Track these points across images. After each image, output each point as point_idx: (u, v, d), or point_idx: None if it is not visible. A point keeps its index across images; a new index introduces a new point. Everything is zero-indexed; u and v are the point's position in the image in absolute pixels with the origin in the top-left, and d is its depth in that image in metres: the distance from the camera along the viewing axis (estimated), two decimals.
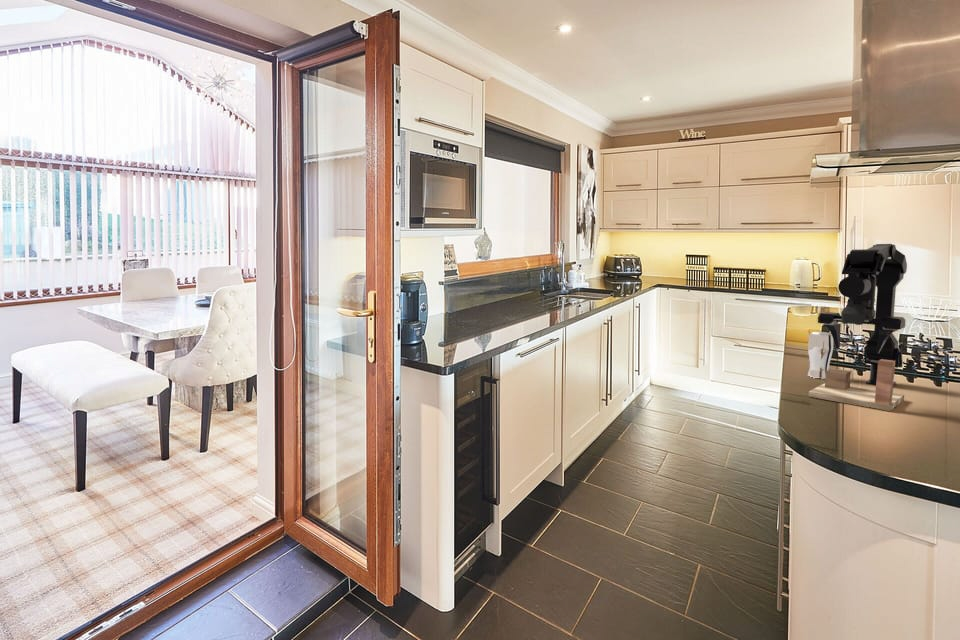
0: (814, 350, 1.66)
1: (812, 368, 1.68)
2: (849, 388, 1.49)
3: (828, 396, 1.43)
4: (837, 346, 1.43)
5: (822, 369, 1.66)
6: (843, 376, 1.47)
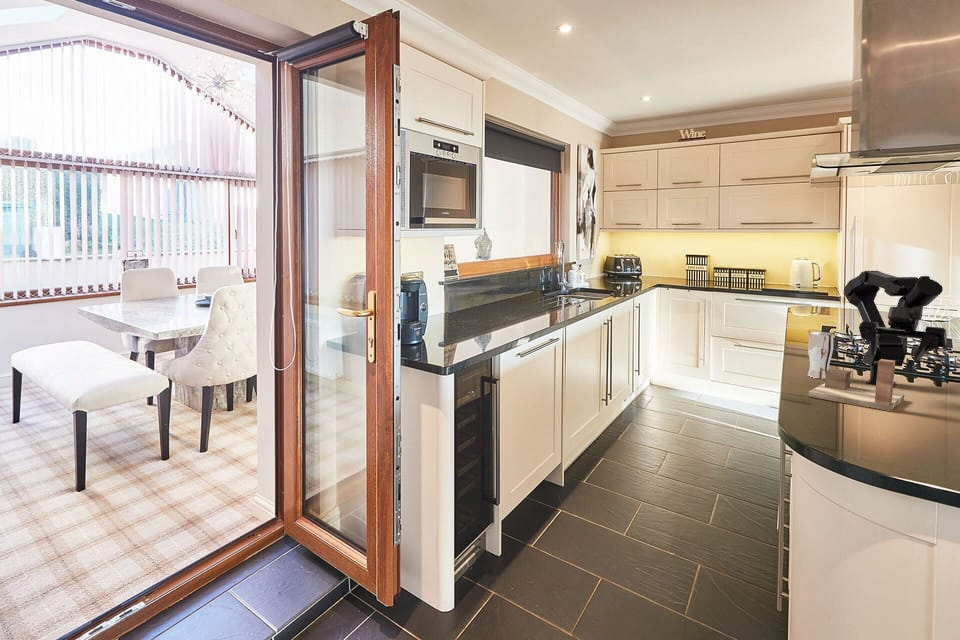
0: (814, 350, 1.66)
1: (812, 368, 1.68)
2: (849, 388, 1.49)
3: (828, 396, 1.43)
4: (873, 351, 1.42)
5: (822, 369, 1.66)
6: (843, 376, 1.47)
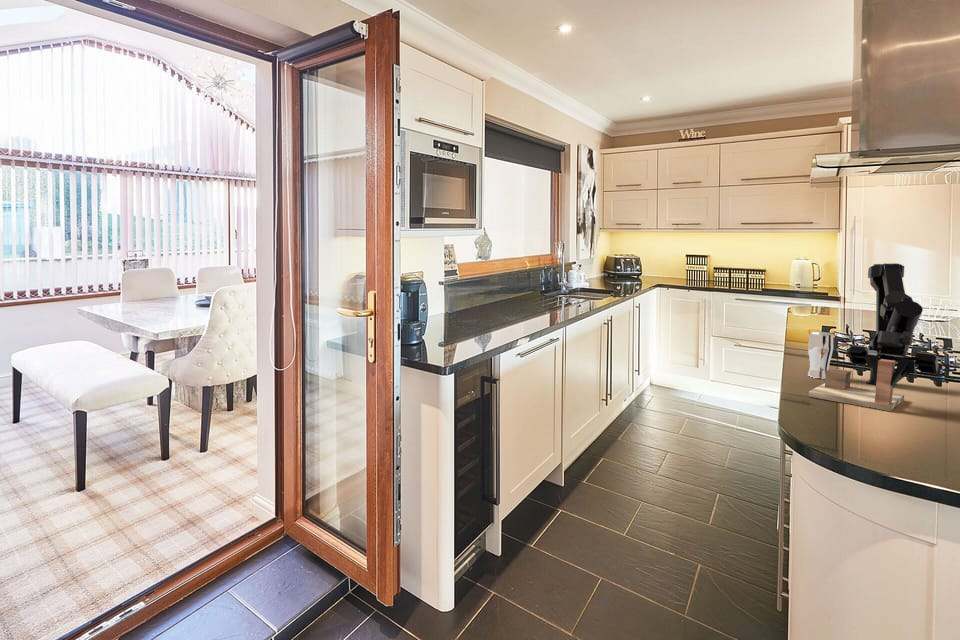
0: (814, 350, 1.66)
1: (812, 368, 1.68)
2: (849, 388, 1.49)
3: (828, 396, 1.43)
4: (876, 379, 1.35)
5: (822, 369, 1.66)
6: (843, 376, 1.47)
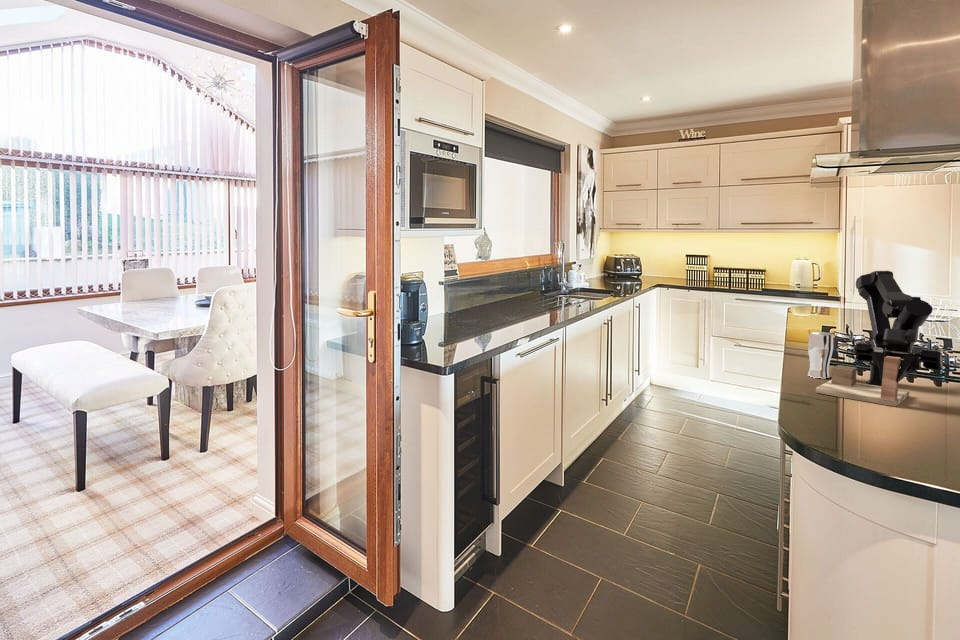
0: (814, 350, 1.66)
1: (812, 368, 1.68)
2: (855, 384, 1.52)
3: (835, 392, 1.47)
4: (881, 375, 1.38)
5: (822, 369, 1.66)
6: (849, 373, 1.51)
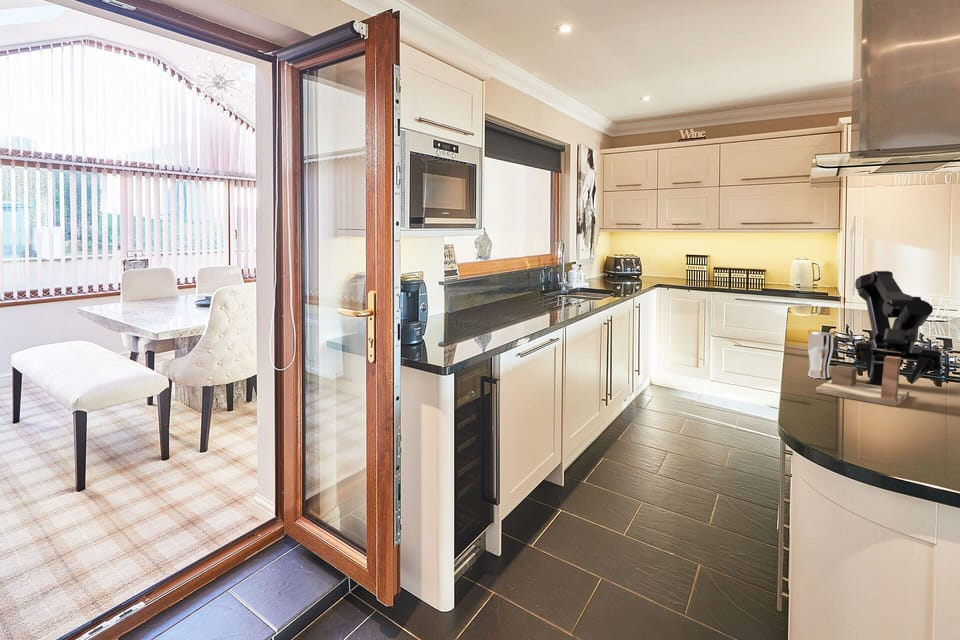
0: (814, 350, 1.66)
1: (812, 368, 1.68)
2: (855, 384, 1.53)
3: (835, 392, 1.47)
4: (869, 373, 1.41)
5: (822, 369, 1.66)
6: (849, 373, 1.51)
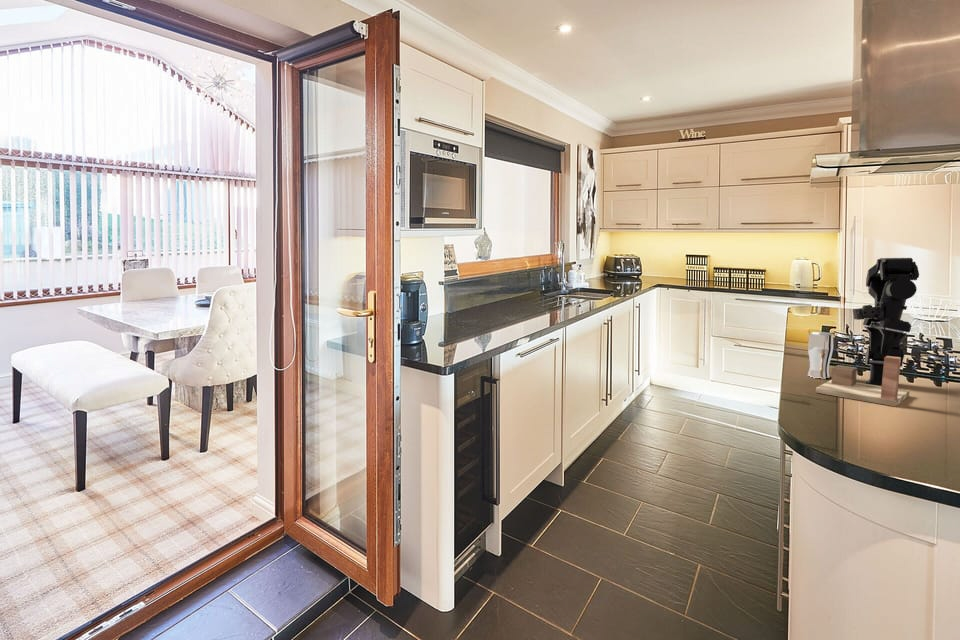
0: (814, 350, 1.66)
1: (812, 368, 1.68)
2: (855, 384, 1.53)
3: (835, 392, 1.47)
4: (870, 348, 1.52)
5: (822, 369, 1.66)
6: (849, 373, 1.51)
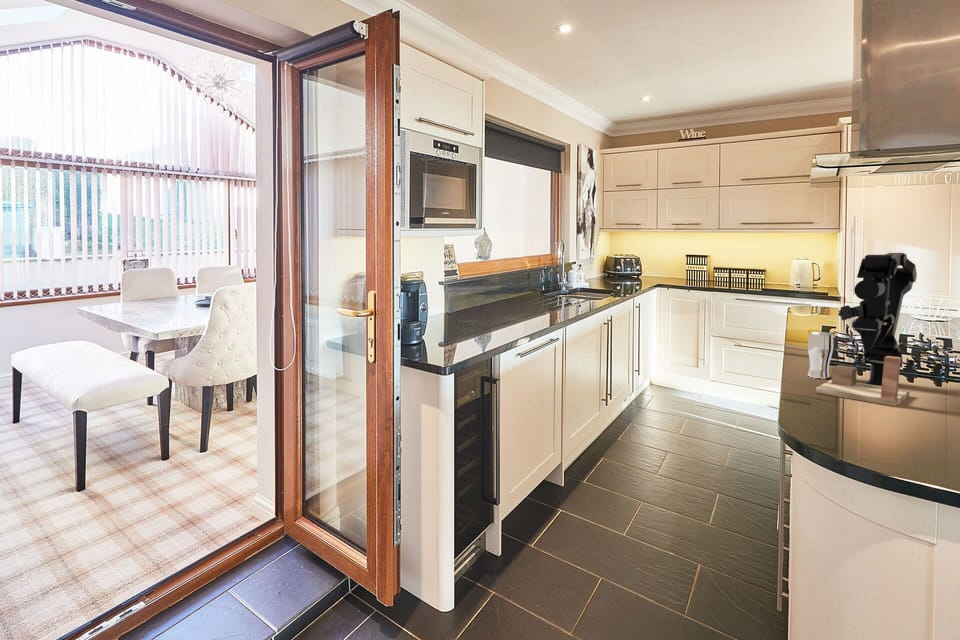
0: (814, 350, 1.66)
1: (812, 368, 1.68)
2: (855, 384, 1.53)
3: (835, 392, 1.47)
4: (873, 345, 1.52)
5: (822, 369, 1.66)
6: (849, 373, 1.51)
